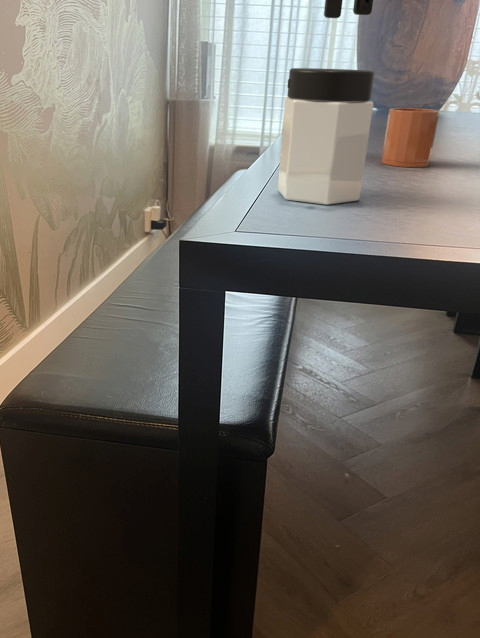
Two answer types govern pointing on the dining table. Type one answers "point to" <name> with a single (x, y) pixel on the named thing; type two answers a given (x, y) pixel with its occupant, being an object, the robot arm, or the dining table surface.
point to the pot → (409, 137)
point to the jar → (325, 135)
